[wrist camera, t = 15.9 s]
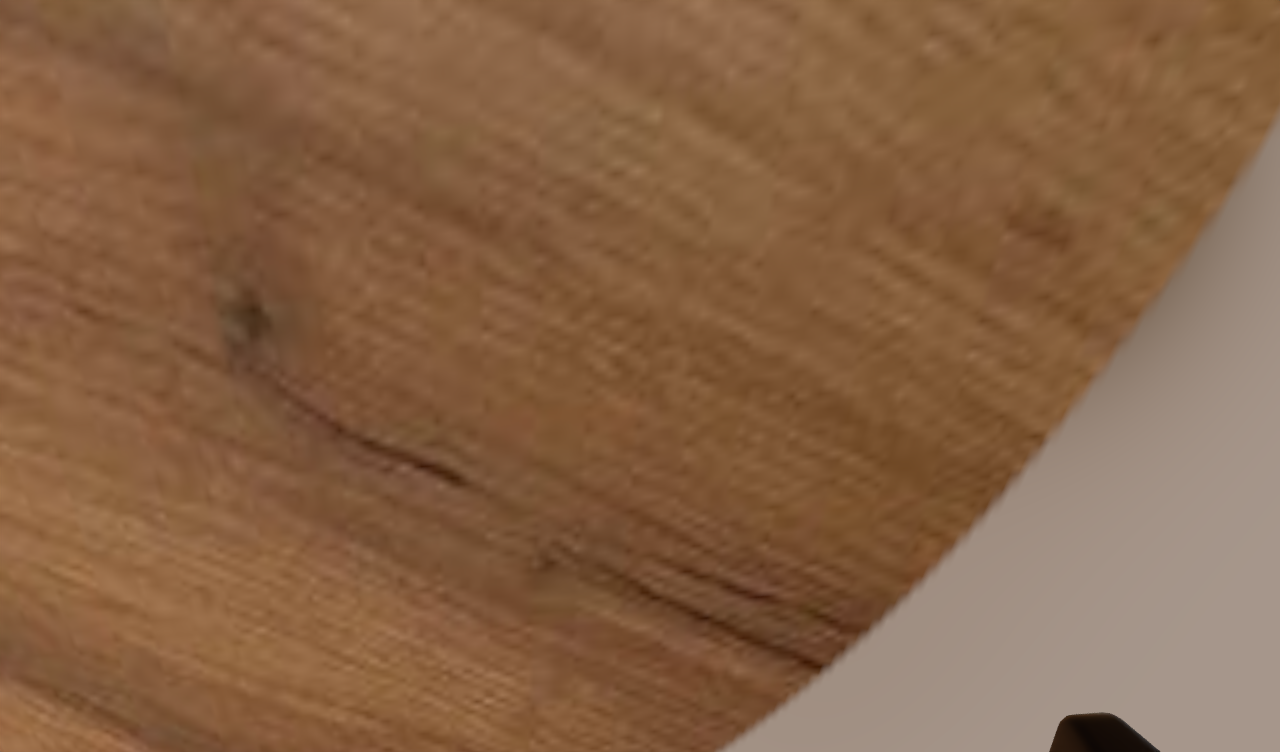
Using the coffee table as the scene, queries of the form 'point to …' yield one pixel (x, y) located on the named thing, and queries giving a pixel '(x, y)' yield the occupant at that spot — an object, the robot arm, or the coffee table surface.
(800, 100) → the coffee table surface
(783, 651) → the coffee table surface
